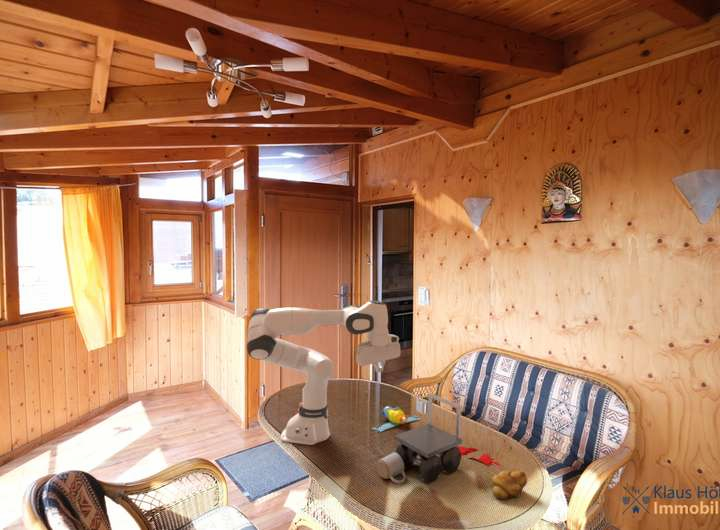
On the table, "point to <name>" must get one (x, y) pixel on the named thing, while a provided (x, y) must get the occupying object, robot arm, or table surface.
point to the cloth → (483, 459)
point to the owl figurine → (395, 418)
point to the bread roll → (508, 484)
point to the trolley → (431, 446)
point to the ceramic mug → (391, 467)
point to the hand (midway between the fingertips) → (379, 371)
